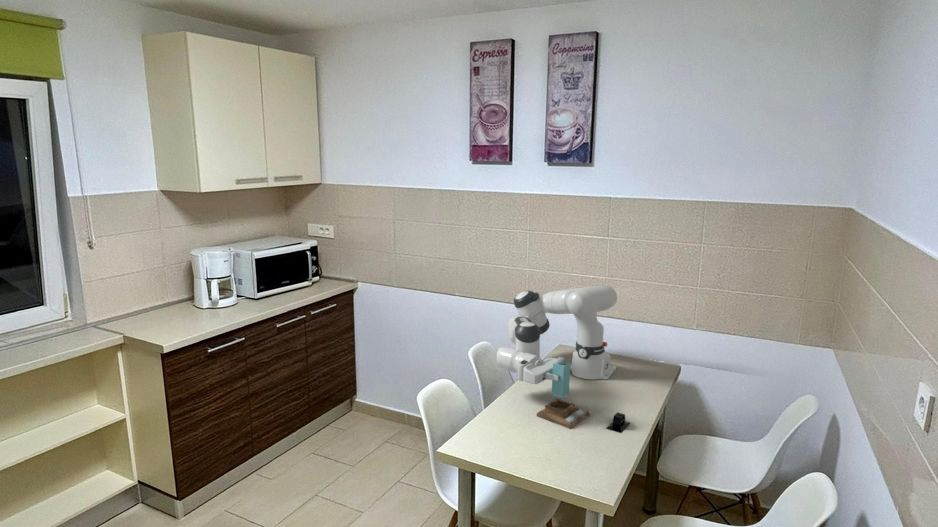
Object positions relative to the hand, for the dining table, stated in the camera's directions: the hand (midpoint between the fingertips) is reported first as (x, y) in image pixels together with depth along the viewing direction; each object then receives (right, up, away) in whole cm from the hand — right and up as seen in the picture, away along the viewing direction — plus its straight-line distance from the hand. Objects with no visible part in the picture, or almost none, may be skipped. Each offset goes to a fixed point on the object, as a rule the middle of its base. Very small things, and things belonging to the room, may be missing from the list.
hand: (563, 375), depth 196 cm
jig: (+1, -15, +3) cm, 15 cm away
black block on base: (+19, -17, -4) cm, 26 cm away
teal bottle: (-1, -7, +2) cm, 8 cm away
